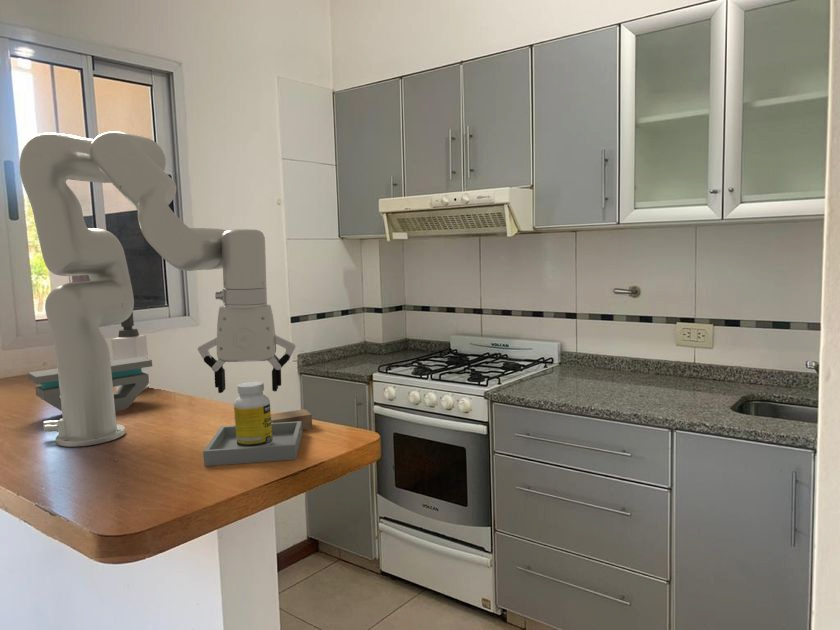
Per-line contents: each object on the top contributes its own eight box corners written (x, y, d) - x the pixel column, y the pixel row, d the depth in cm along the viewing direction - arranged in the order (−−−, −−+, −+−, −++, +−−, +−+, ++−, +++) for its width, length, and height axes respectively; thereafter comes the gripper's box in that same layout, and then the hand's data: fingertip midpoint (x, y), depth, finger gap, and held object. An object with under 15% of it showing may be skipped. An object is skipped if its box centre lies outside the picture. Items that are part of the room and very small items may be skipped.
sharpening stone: (40, 425, 143) (35, 377, 141) (33, 419, 148) (28, 372, 147) (155, 403, 159) (151, 360, 158) (144, 398, 165) (140, 356, 164)
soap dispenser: (111, 394, 171) (104, 312, 169) (127, 387, 180) (120, 308, 178) (136, 393, 171) (128, 311, 169) (150, 386, 180) (143, 307, 178)
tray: (204, 466, 111) (203, 451, 111) (221, 439, 127) (221, 426, 126) (295, 459, 113) (294, 445, 112) (302, 433, 128) (301, 421, 128)
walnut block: (273, 435, 128) (272, 420, 128) (267, 429, 133) (266, 414, 132) (312, 428, 132) (311, 414, 131) (305, 423, 136) (304, 409, 136)
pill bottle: (264, 451, 116) (259, 388, 115) (230, 450, 117) (225, 388, 116) (278, 440, 122) (274, 380, 121) (246, 439, 123) (242, 380, 122)
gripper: (191, 300, 112) (195, 397, 114) (292, 299, 114) (294, 394, 116) (201, 296, 119) (204, 387, 121) (295, 295, 121) (298, 384, 123)
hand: (248, 390), depth 119 cm, fingers open, 9 cm apart
